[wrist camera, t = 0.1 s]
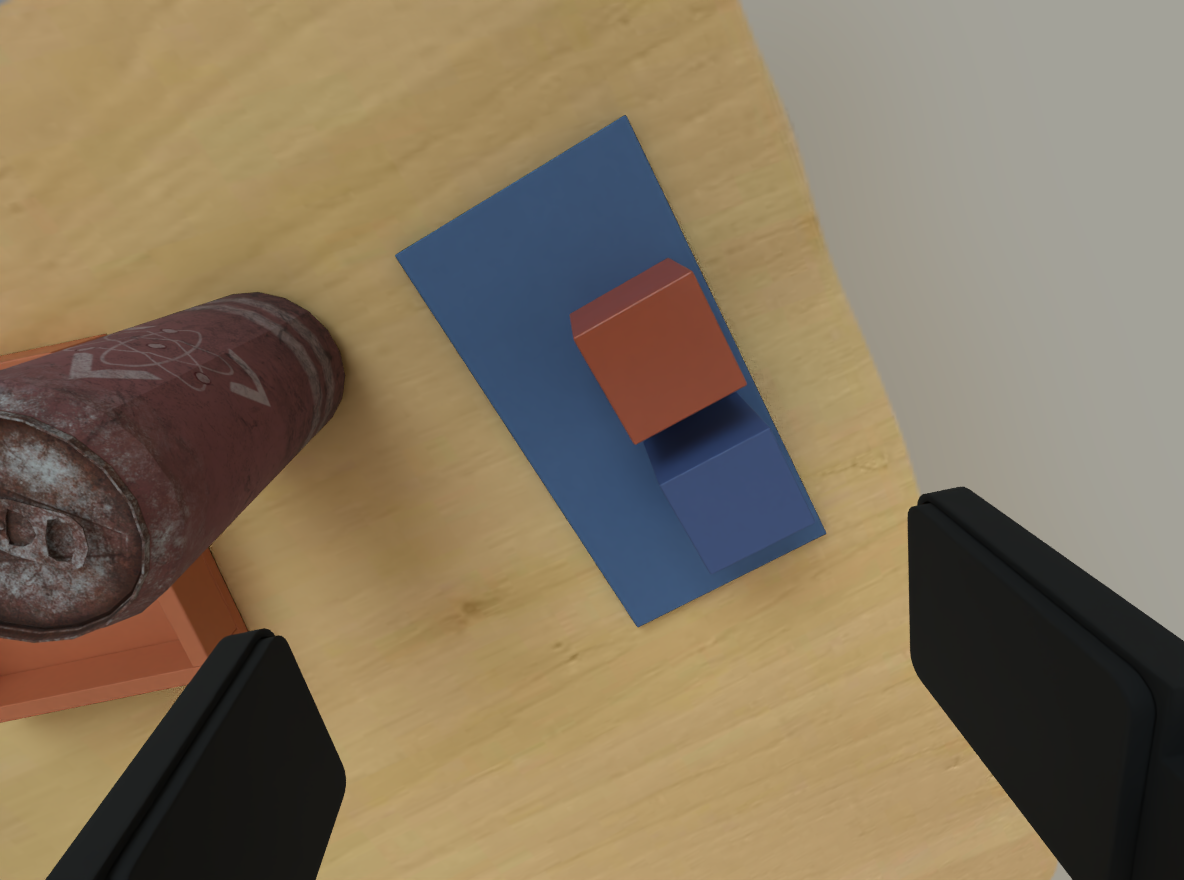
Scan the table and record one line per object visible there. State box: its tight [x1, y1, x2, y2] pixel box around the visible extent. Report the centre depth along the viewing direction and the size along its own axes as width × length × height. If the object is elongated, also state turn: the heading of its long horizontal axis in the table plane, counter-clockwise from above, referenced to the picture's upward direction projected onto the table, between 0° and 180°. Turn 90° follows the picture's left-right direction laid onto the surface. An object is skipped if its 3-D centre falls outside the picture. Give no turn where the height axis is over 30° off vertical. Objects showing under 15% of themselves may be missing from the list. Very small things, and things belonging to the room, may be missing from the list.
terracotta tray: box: [0, 334, 248, 723], centre depth 27 cm, size 15×13×3 cm
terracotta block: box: [569, 258, 747, 445], centre depth 24 cm, size 4×4×4 cm
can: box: [0, 292, 345, 643], centre depth 20 cm, size 6×6×14 cm
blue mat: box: [395, 115, 826, 627], centre depth 28 cm, size 20×10×1 cm, turn 29°
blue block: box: [643, 392, 815, 575], centre depth 26 cm, size 4×4×4 cm
